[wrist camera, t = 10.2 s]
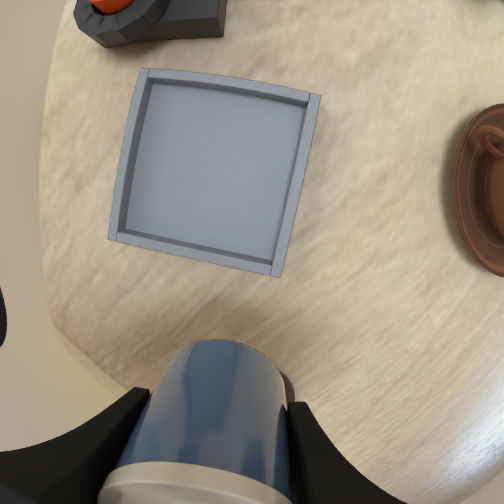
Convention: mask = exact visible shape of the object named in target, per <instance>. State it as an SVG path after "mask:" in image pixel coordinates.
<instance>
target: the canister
mask: <svg viewBox="0 0 504 504" xmlns="http://www.w3.org/2000/svg"><path fill="white" fill-rule="evenodd" d="M97 504H294V494H293V481H292V467H291V455H290V442H289V430H288V418H287V406H286V395H285V385H284V381H283V378H282V376H281V374H280V372H279V370H278V369H277V367H276V366H275V365H274V364H273V363H272V361H271V360H269V359H268V358H267V357H266V356H265V355H264V354H262V353H261V352H259V351H258V350H256V349H254V348H252V347H250V346H247V345H245V344H242V343H238V342H235V341H229V340H219V339H213V340H204V341H198V342H195V343H192V344H189V345H187V346H185V347H183V348H181V349H180V350H178V351H177V352H176V353H175V354H173V355H172V356H171V358H170V359H169V360H168V361H167V363H166V365H165V367H164V368H163V370H162V372H161V374H160V376H159V378H158V380H157V382H156V384H155V386H154V388H153V390H152V392H151V394H150V396H149V398H148V400H147V402H146V404H145V406H144V409H143V411H142V413H141V415H140V417H139V419H138V421H137V423H136V425H135V427H134V429H133V431H132V433H131V435H130V437H129V439H128V441H127V443H126V445H125V447H124V450H123V452H122V454H121V456H120V458H119V460H118V462H117V464H116V466H115V468H114V470H113V471H112V472H111V473H110V474H109V475H108V476H107V477H106V479H105V481H104V483H103V485H102V487H101V489H100V491H99V493H98V496H97Z"/></svg>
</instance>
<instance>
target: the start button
mask: <svg viewBox="0 0 504 504" xmlns="http://www.w3.org/2000/svg"><path fill="white" fill-rule="evenodd" d="M90 1H91V2H92V3H93V4H94V5H95V6H96V7H97V8H98V9H100V10H101V11H102V12H104V13H108V14H112V13H117V12H119V11H122V10H123V9H125V8H127V7H128V6H129V5H130V4H131V3H132V2H133V1H134V0H90Z"/></svg>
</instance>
